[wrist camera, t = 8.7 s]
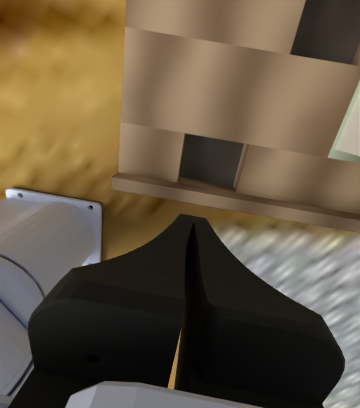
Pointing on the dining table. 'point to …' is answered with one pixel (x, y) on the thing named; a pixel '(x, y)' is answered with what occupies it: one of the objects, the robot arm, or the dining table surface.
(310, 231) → the dining table surface
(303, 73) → the tray
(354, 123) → the block
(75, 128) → the dining table surface
